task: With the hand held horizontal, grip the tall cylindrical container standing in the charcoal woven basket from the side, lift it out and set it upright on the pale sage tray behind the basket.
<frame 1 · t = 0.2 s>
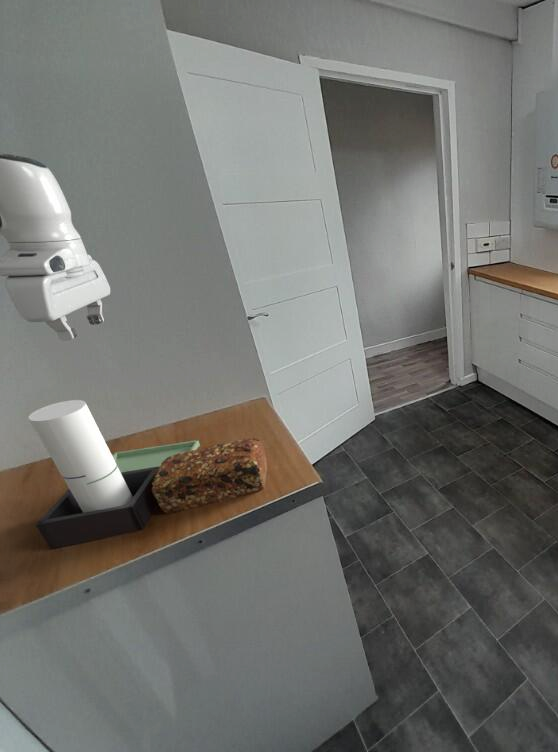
hand: (84, 330, 78), 36 cm above the counter, tool pointing down, fingers open, 8 cm apart
cylindrical container: (115, 516, 83), resting in basket
basket: (114, 515, 83), on the counter
tray: (147, 470, 96), on the counter
bread: (220, 490, 90), on the counter
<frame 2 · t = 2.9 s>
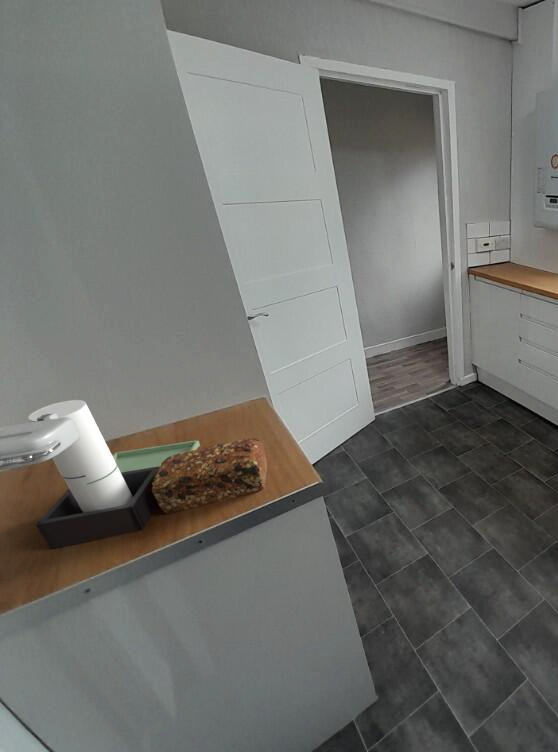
hand: (11, 423, 62), 28 cm above the counter, tool horizontal, fingers open, 8 cm apart
nothing on the counter moved.
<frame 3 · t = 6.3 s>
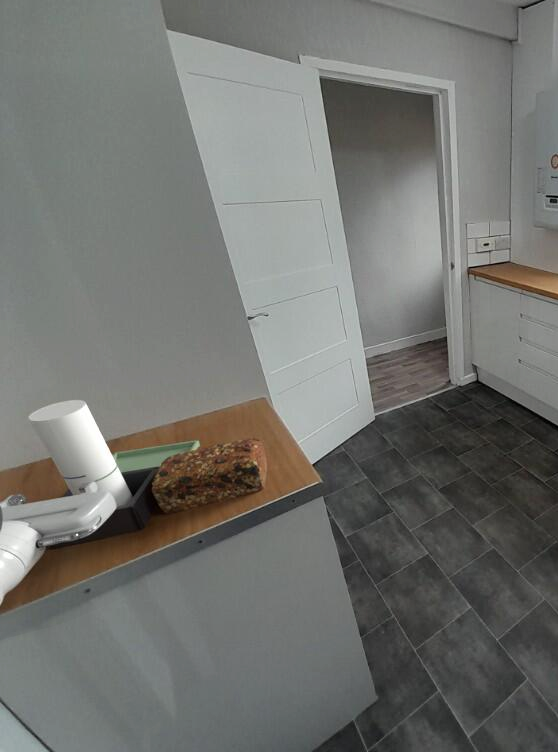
hand: (56, 491, 69), 14 cm above the counter, tool horizontal, fingers open, 8 cm apart
nothing on the counter moved.
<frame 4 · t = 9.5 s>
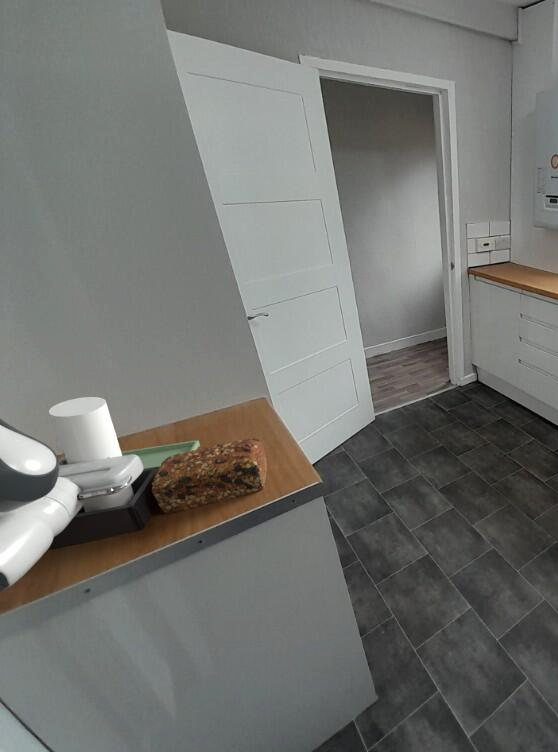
hand: (89, 456, 78), 14 cm above the counter, tool horizontal, fingers closed on cylindrical container, 4 cm apart
cylindrical container: (114, 514, 83), resting in basket, touching gripper
everything else where it was.
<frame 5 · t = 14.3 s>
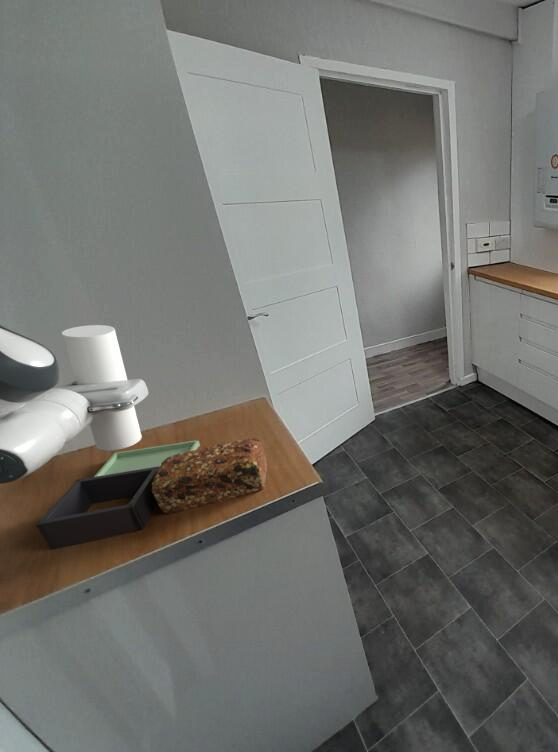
hand: (97, 382, 83), 25 cm above the counter, tool horizontal, fingers closed on cylindrical container, 4 cm apart
cylindrical container: (119, 441, 88), point 11 cm above the counter, touching gripper
everything else where it was.
when the fingers open (15 cm above the counter, at t = 19.2 s): cylindrical container stays where it is, resting on tray.
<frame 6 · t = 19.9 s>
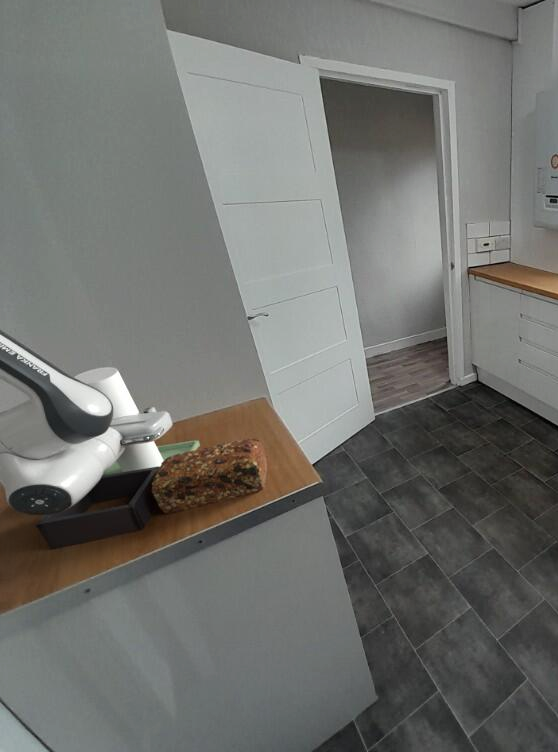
hand: (125, 413, 91), 15 cm above the counter, tool horizontal, fingers open, 8 cm apart
cylindrical container: (145, 468, 96), point 1 cm above the counter, touching gripper, tray
everything else where it was.
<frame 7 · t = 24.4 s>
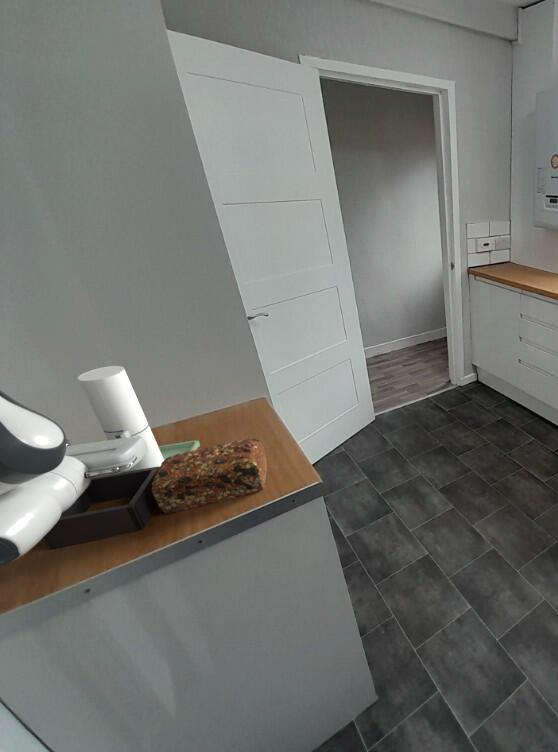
hand: (95, 438, 80), 16 cm above the counter, tool horizontal, fingers open, 8 cm apart
cylindrical container: (146, 469, 96), resting on tray
everything else where it was.
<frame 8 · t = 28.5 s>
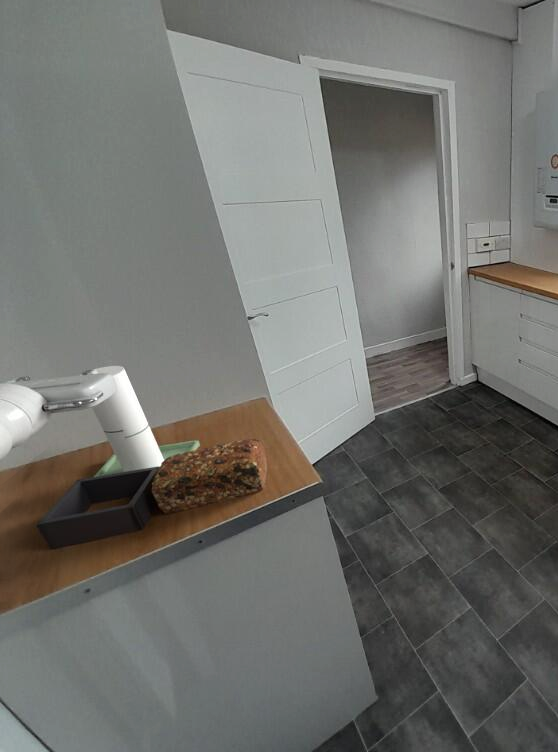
hand: (60, 377, 73), 30 cm above the counter, tool horizontal, fingers open, 8 cm apart
nothing on the counter moved.
at the end: cylindrical container inside the target area in the tray (0.3 cm from its centre), point 0.5 cm above the tray's base; cylindrical container tilted 0°; the gripper is holding nothing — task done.
